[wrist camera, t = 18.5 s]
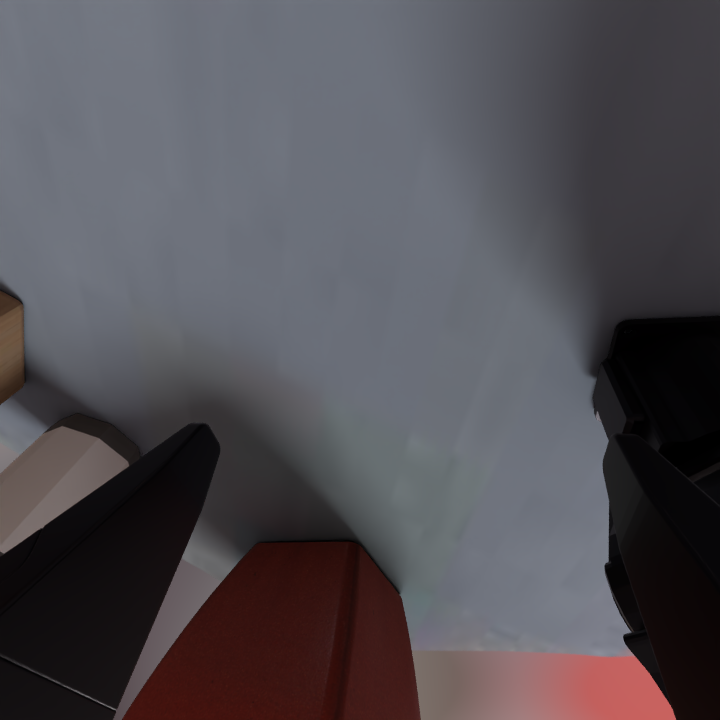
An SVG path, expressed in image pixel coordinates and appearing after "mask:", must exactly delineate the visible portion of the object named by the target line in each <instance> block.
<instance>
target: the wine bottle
mask: <svg viewBox="0 0 720 720" xmlns="http://www.w3.org/2000/svg"><path fill="white" fill-rule="evenodd" d="M138 459H140V454H139V448H138V446H136V445H135V444H134V443H133V442H132V441H130V440H129V439H128V438H127V437H126V436H124V435H123V434H122V433H121V432H120V431H118V430H117V429H116V428H115V427H114V426H112V425H111V424H108V423H105V422H102V421H99V420H96V419H93V418H90V417H87V416H84V415H81V414H78V413H77V414H74V415H72V416H70V417H67V418H65V419H62V420H60V421H58V422H57V423H55V424H54V425H53V426H51V427H50V428H49V429H48V430H47V431H46V432H45V433H43V434H42V435H41V436H40V437H39V438H38V439H37V440H36V441H35V442H34V443H33V444H32V445H31V446H29V447H28V448H27V449H26V450H25V451H24V452H23V453H22V454H21V455H20V456H19V457H18V458H17V459H16V460H15V461H14V462H12V463H11V464H10V465H9V466H8V467H7V468H6V469H5V470H4V471H3V472H2V473H1V474H0V556H1V555H3V554H4V553H6V552H7V551H9V550H10V549H12V548H13V547H15V546H16V545H17V544H19V543H20V542H22V541H23V540H25V539H26V538H28V537H29V536H30V535H32V534H33V533H35V532H36V531H37V530H39V529H40V528H43V527H44V526H45V525H46V524H47V523H49V522H50V521H52V520H53V519H55V518H56V517H57V516H59V515H60V514H62V513H63V512H64V511H66V510H67V509H69V508H70V507H72V506H73V505H74V504H76V503H77V502H79V501H80V500H82V499H83V498H84V497H86V496H87V495H89V494H90V493H91V492H93V491H94V490H96V489H97V488H99V487H100V486H101V485H103V484H104V483H106V482H107V481H109V480H110V479H111V478H113V477H114V476H116V475H117V474H118V473H120V472H121V471H123V470H124V469H126V468H127V467H128V466H130V465H131V464H133V463H134V462H136V461H137V460H138Z"/></svg>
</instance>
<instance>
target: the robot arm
mask: <svg viewBox="0 0 720 720" xmlns="http://www.w3.org/2000/svg"><path fill="white" fill-rule="evenodd" d="M628 329H632V331H630V332H628V333H624V332H625V331H626V330H628ZM593 401H594V403H595V409H594V414H595V417H596V419H597V420H598V421H600V422H602V424H603V427H604V429H605V432H606V435H607V437H608V440H609V442H608V445H607V449H606V452H605V455H604V458H603V473H604V478H605V483H606V488H607V493H608V498H609V562H608V563H606V564H605V575H606V578H607V581H608V584H609V587H610V590H611V593H612V596H613V599H614V601H615V603H616V606H617V608H618V610H619V613H620V614H621V616H622V618H623V619H624V621H625V623H626V625H627V626H628V628H629V629H630V631H631V633H627V634H624V636H623V639H624V642H625V644H626V646H627V647H628V648H629V649H630V650H631V652H632V653H633V654H634V655H635V656H636V657H637V659H638V660H639V661H640V662H641V663H642V665H643V666H644V667H645V668H646V670H647V671H648V672H649V673H650V675H651V676H652V678H653V679H654V681H655V682H656V684H657V685H658V687H659V688H660V690H661V691H662V693H663V694H664V696H665V698H666V699H667V700H668V702H669V704H670V705H671V707H672V709H673V711H674V715H675V717H676V720H720V316H709V317H684V318H658V319H633V320H625V321H622V322H620V323H619V324H618V325H617V326H616V328H615V331H614V335H613V339H612V342H611V346H610V350H609V354H608V358H607V359H605V360H604V361H603V362H602V363H601V365H600V369H599V373H598V377H597V381H596V385H595V389H594V393H593ZM219 454H220V444H219V442H218V441H217V439H216V437H215V435H214V434H213V432H212V430H211V429H210V427H209V426H208V425H207V424H206V423H190V424H188V425H187V426H185V427H184V428H182V429H181V430H180V431H178V432H177V433H175V434H174V435H172V436H171V437H170V438H168V439H167V440H165V441H164V442H163V443H161V444H160V445H158V446H157V447H155V448H154V449H153V450H151V451H150V452H148V453H147V454H145V455H144V456H143V457H141V458H140V459H138V460H137V461H136V462H134V463H133V464H131V465H130V466H128V467H127V468H126V469H124V470H123V471H121V472H120V473H118V474H117V475H116V476H114V477H113V478H111V479H110V480H109V481H107V482H106V483H104V484H103V485H101V486H100V487H99V488H97V489H96V490H94V491H93V492H91V493H90V494H89V495H87V496H86V497H84V498H83V499H82V500H80V501H79V502H77V503H76V504H74V505H73V506H72V507H70V508H69V509H67V510H66V511H64V512H63V513H62V514H60V515H59V516H57V517H56V518H55V519H53V520H52V521H50V522H49V523H47V524H46V525H45V526H44V527H43V528H40V529H39V530H37V531H36V532H35V533H33V534H32V535H30V536H29V537H28V538H26V539H25V540H23V541H22V542H20V543H19V544H17V545H16V546H15V547H13V548H12V549H10V550H9V551H7V552H6V553H4V554H3V555H1V556H0V720H113V718H114V716H115V713H116V711H115V710H117V708H118V706H119V703H120V701H121V699H122V696H123V694H124V692H125V689H126V687H127V685H128V682H129V680H130V677H131V675H132V673H133V671H134V668H135V666H136V664H137V661H138V659H139V656H140V654H141V652H142V649H143V647H144V645H145V642H146V640H147V638H148V635H149V633H150V631H151V628H152V626H153V624H154V621H155V619H156V617H157V614H158V611H159V610H160V607H161V605H162V602H163V600H164V598H165V595H166V593H167V591H168V588H169V586H170V584H171V581H172V579H173V576H174V574H175V572H176V570H177V567H178V565H179V563H180V560H181V558H182V556H183V553H184V551H185V548H186V546H187V544H188V541H189V539H190V537H191V534H192V532H193V530H194V527H195V525H196V523H197V520H198V518H199V515H200V513H201V510H202V508H203V505H204V502H205V499H206V496H207V492H208V489H209V486H210V483H211V480H212V477H213V473H214V470H215V467H216V464H217V461H218V458H219Z"/></svg>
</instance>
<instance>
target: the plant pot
mask: <svg viewBox="0 0 720 720" xmlns="http://www.w3.org/2000/svg"><path fill="white" fill-rule="evenodd" d="M122 720H421V718H420V709H419V701H418V692H417V685H416V677H415V670H414V663H413V656H412V650H411V644H410V638H409V633H408V627H407V622H406V617H405V612H404V607H403V602H402V598H401V596H400V595H399V594H398V593H397V591H396V590H395V589H394V588H393V586H392V585H391V584H390V582H389V581H388V580H387V579H386V577H385V576H384V575H383V574H382V572H381V571H380V570H379V569H378V567H377V566H376V565H375V563H374V562H373V561H372V560H371V558H370V557H369V556H368V554H367V553H366V552H365V551H364V549H363V548H362V547H361V546H360V545H358V544H356V543H353V542H284V543H257V544H256V545H254V546H253V547H252V549H251V550H250V551H249V552H248V553H247V554H246V555H245V556H244V557H243V558H242V559H241V560H240V561H239V562H238V564H237V565H236V566H235V567H234V568H233V569H232V571H231V572H230V573H229V574H228V575H227V576H226V578H225V579H224V580H223V581H222V582H221V583H220V585H219V586H218V587H217V588H216V589H215V591H214V592H213V593H212V594H211V595H210V597H209V598H208V599H207V600H206V602H205V603H204V604H203V605H202V606H201V608H200V609H199V611H198V612H197V613H196V614H195V616H194V617H193V618H192V619H191V621H190V622H189V623H188V625H187V626H186V627H185V628H184V630H183V631H182V633H181V634H180V635H179V637H178V638H177V639H176V641H175V642H174V644H173V645H172V646H171V648H170V649H169V650H168V652H167V653H166V655H165V656H164V658H163V659H162V660H161V662H160V663H159V664H158V666H157V667H156V669H155V670H154V672H153V673H152V675H151V676H150V677H149V679H148V680H147V682H146V683H145V685H144V686H143V688H142V689H141V691H140V692H139V694H138V695H137V697H136V698H135V700H134V702H133V703H132V704H131V706H130V707H129V709H128V711H127V712H126V714H125V715H124V717H123V719H122Z"/></svg>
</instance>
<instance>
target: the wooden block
mask: <svg viewBox="0 0 720 720" xmlns="http://www.w3.org/2000/svg"><path fill="white" fill-rule="evenodd" d="M24 383H25V371H24V307H23V305H22V304H21V303H20V302H19V301H18V300H17V299H15V298H13V297H11V296H9V295H7V294H6V293H4V292H2V291H0V405H1V404H2V403H3V402H4V401H6V400H7V399H8V398H9V397H11V396H12V395H13V394H15V393H16V392H17V391H18V390H20V389H21V388H22V387H23V385H24Z"/></svg>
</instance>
